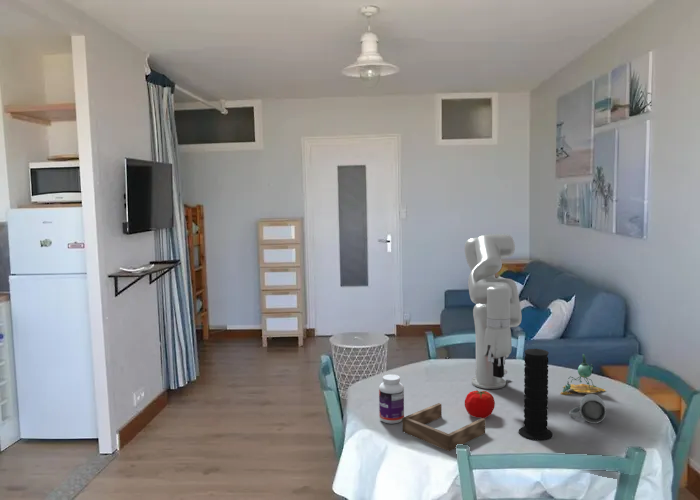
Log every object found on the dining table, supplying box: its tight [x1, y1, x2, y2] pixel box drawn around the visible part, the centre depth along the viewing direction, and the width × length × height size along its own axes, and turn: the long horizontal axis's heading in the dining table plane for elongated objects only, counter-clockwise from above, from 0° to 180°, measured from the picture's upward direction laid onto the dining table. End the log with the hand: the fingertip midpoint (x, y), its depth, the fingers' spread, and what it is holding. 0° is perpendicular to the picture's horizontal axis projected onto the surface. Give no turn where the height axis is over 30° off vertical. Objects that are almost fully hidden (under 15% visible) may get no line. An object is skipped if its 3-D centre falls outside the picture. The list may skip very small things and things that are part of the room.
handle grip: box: [517, 348, 554, 442], centre depth 174 cm, size 10×26×10 cm
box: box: [401, 402, 486, 452], centre depth 177 cm, size 17×18×4 cm
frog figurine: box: [560, 353, 606, 396], centre depth 209 cm, size 10×18×15 cm, turn 93°
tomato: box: [464, 389, 496, 419], centre depth 189 cm, size 9×10×8 cm
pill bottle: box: [378, 374, 405, 425], centre depth 187 cm, size 8×8×14 cm
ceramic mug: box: [568, 393, 607, 424], centre depth 185 cm, size 11×8×8 cm
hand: (498, 376), depth 194 cm, fingers closed
